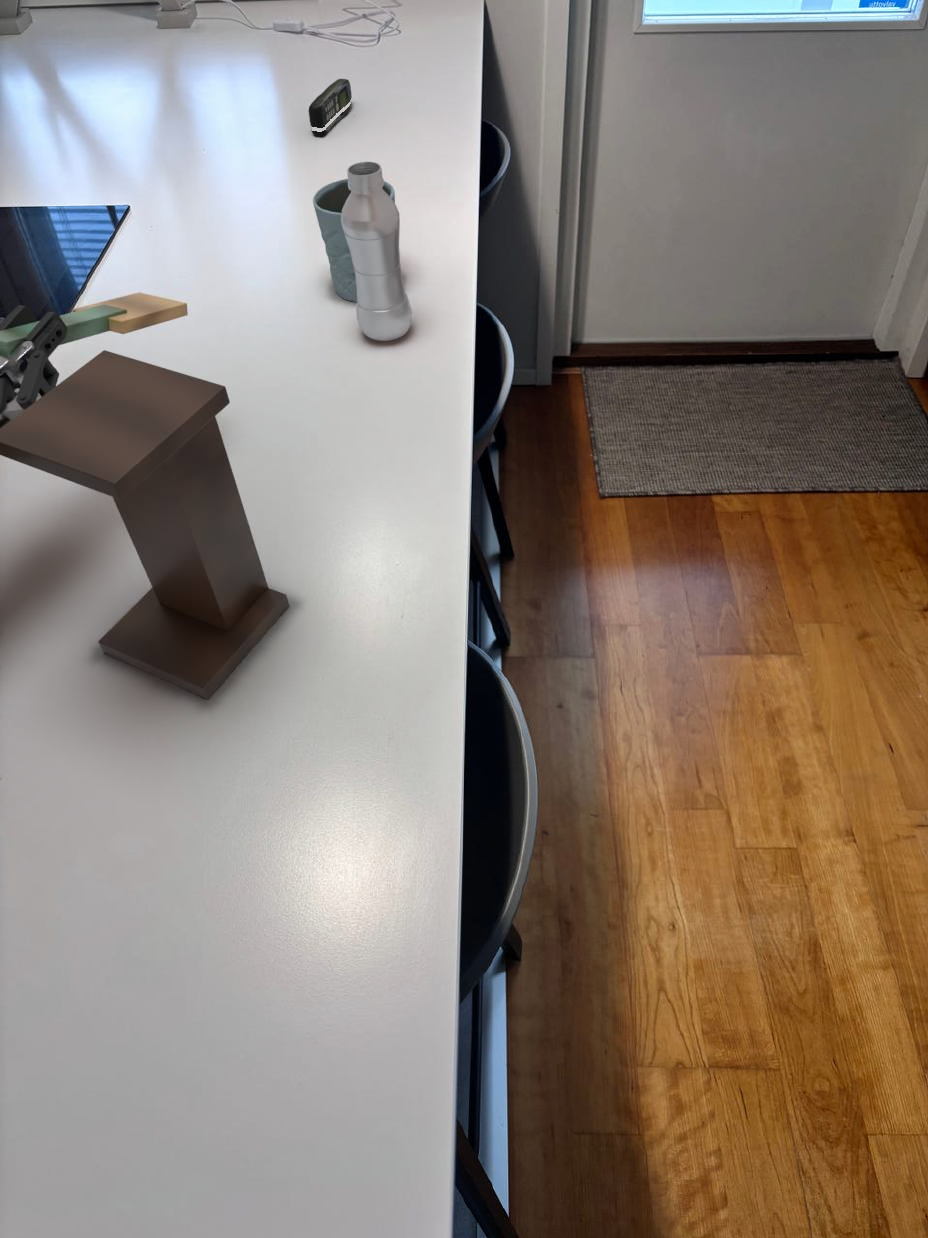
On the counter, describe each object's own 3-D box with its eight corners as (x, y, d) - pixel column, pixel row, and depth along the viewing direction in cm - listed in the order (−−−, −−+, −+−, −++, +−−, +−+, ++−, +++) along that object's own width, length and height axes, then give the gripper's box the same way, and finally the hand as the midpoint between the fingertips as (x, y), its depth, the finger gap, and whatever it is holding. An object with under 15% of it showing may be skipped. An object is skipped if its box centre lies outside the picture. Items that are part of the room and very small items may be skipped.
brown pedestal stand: (208, 699, 81) (114, 483, 63) (103, 652, 85) (-13, 437, 67) (289, 605, 88) (225, 385, 70) (188, 566, 92) (104, 349, 74)
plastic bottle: (413, 346, 115) (394, 179, 100) (357, 349, 115) (330, 183, 100) (414, 317, 119) (396, 153, 104) (361, 320, 119) (335, 157, 104)
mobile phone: (320, 107, 154) (354, 71, 163) (303, 106, 154) (338, 70, 163) (326, 139, 157) (359, 101, 166) (309, 138, 158) (343, 100, 167)
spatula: (23, 363, 78) (20, 345, 77) (-30, 349, 80) (-33, 331, 79) (188, 315, 94) (186, 299, 93) (140, 304, 96) (139, 288, 95)
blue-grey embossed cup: (351, 313, 121) (336, 221, 112) (314, 281, 126) (297, 191, 117) (419, 287, 124) (409, 195, 115) (380, 257, 130) (368, 168, 121)
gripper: (-114, 475, 81) (9, 335, 88) (7, 515, 76) (127, 363, 83) (-179, 413, 74) (-40, 268, 82) (-51, 453, 70) (85, 295, 77)
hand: (44, 317), depth 82 cm, fingers closed on spatula, 3 cm apart
